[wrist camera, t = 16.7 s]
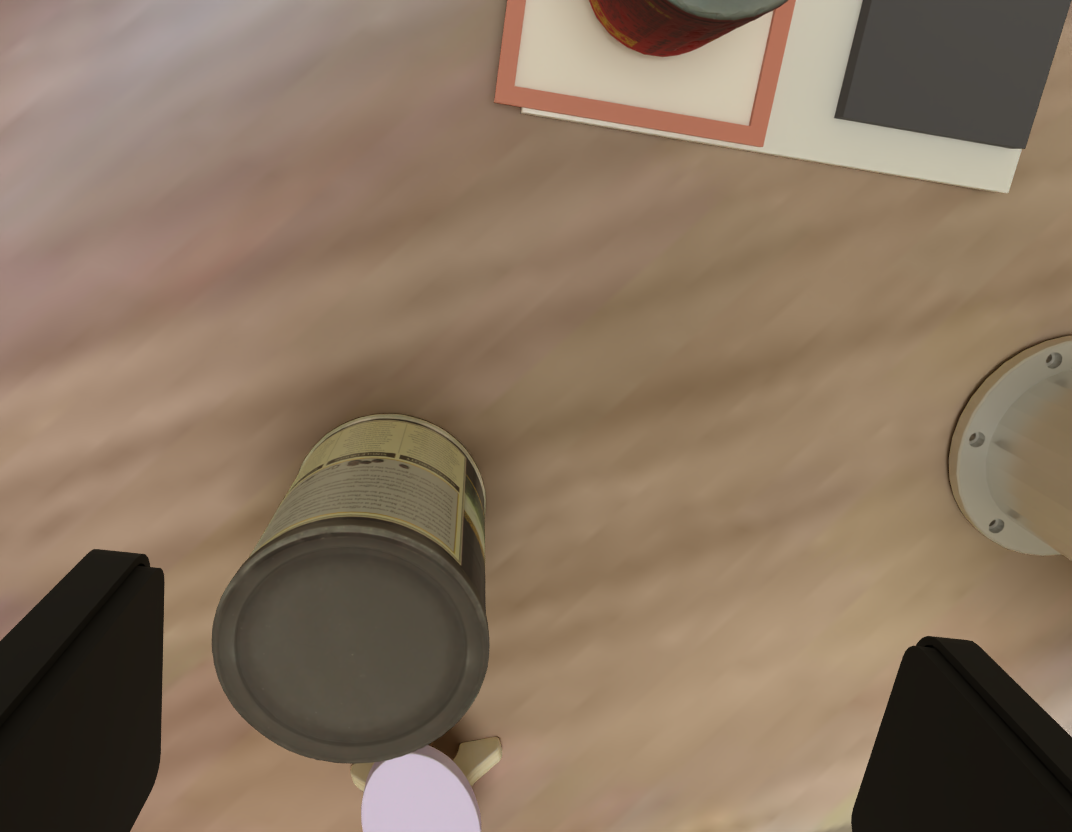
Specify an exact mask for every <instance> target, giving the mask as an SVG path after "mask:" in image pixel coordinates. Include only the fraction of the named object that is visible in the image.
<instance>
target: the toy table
mask: <svg viewBox="0 0 1072 832" xmlns="http://www.w3.org/2000/svg"><path fill="white" fill-rule="evenodd" d="M501 757H502V748H501V743H500V740H499V738H497V737H490V738H485V739H480V740H475V741H470V742H464V743H461V744H460V745H459V750H458V753H457V755H456V757H455V758H454V759H453V760H451V759H450V758H449V757H448V756H447V755H445V754H444V753H442V752H441V751H439V750H437V749H435V748H433V747H431V746H429V745H426V746H425V747H423V748H421V749H418V750H417V751H415V752H412V753H409V754H407V755H404V756H402V757H398V758H394V759H391V760H386V761H381V762H373V763H356V764H353V765H352V767H351V771H350V772H351V776H352V779H353V782H354V784H355V785H356V786H357V787H358V788H359V789H360V790H362V791H363V792H364V794H363V799H362V807H361V817H362V828H363V832H481V816H480V810H479V806H478V803H477V800H476V797H475V794H474V791H473V789H472V787H471V786H472V785H473V784H474V783H475V782H476V781H477V780H478V779H479V778H481V777H482V776H483V775H484V774H485V773H486V772H488V771H489V770H490V769H491V768H492V767H493V766H494V765H496V764H497V763H498V762H499V761H500V759H501Z"/></svg>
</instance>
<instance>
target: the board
mask: <svg viewBox="0 0 1072 832" xmlns="http://www.w3.org/2000/svg"><path fill="white" fill-rule="evenodd" d="M862 2H863V0H796V2H795V6H794V11H793V15H792V20H791V24H790V29H789V33H788V38H787V42H786V47H785V51H784V56H783V60H782V65H781V69H780V74H779V78H778V83H777V87H776V92H775V96H774V100H773V105H772V109H771V114H770V118H769V123H768V127H767V132H766V136H765V141H764V145H763V147H756V146H750V145H744V144H738V143H732V142H726V141H720V140H714V139H708V138H702V137H696V136H690V135H684V134H678V133H672V132H666V131H660V130H654V129H648V128H642V127H636V126H631V125H625V124H619V123H613V122H607V121H601V120H595V119H589V118H583V117H577V116H571V115H565V114H559V113H553V112H547V111H541V110H535V109H529V108H523V107H521V114H527V115H533V116H539V117H545V118H551V119H557V120H563V121H569V122H575V123H581V124H587V125H593V126H599V127H605V128H611V129H617V130H623V131H629V132H635V133H641V134H647V135H653V136H659V137H665V138H671V139H677V140H683V141H689V142H695V143H701V144H707V145H713V146H719V147H725V148H731V149H737V150H743V151H749V152H755V153H761V154H767V155H773V156H779V157H785V158H791V159H797V160H803V161H809V162H815V163H821V164H827V165H833V166H839V167H845V168H851V169H857V170H863V171H869V172H875V173H881V174H887V175H893V176H899V177H905V178H911V179H917V180H923V181H929V182H935V183H941V184H947V185H953V186H959V187H965V188H971V189H977V190H983V191H989V192H998V193H1008V192H1009V189H1010V186H1011V183H1012V180H1013V176H1014V173H1015V170H1016V167H1017V163H1018V160H1019V157H1020V154H1021V151H1022V149H1010V148H1004V147H998V146H992V145H987V144H981V143H975V142H969V141H963V140H958V139H952V138H946V137H940V136H935V135H929V134H923V133H917V132H911V131H906V130H900V129H894V128H888V127H883V126H877V125H871V124H865V123H859V122H854V121H848V120H842V119H836V118H834V116H835V112H836V108H837V104H838V100H839V96H840V91H841V87H842V83H843V79H844V75H845V71H846V67H847V63H848V59H849V55H850V51H851V47H852V42H853V38H854V34H855V30H856V26H857V22H858V18H859V14H860V10H861V6H862Z"/></svg>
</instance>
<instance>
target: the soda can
mask: <svg viewBox="0 0 1072 832" xmlns="http://www.w3.org/2000/svg"><path fill="white" fill-rule="evenodd" d="M787 1H788V0H589V2H590V4H591V7H592V9H593V11H594V14H595V16H596V18H597V19H598V20H599V22H600V23H601V24H602V25H603V27H604V28H605V29H606V30H607V32H608V33H609V34H610V35H611V36H612V37H614V38H615V39H616V40H617V41H619V42H620V43H622V44H623V45H625V46H626V47H628V48H630V49H632V50H635V51H637V52H639V53H642V54H644V55H651V56H659V57H668V56H676V55H681V54H684V53H687V52H691V51H693V50H695V49H698V48H700V47H702V46H704V45H706V44H707V43H710V42H712V41H714V40H716V39H718V38H720V37H721V36H723V35H725V34H727V33H729V32H731V31H733V30H735V29H737V28H739V27H741V26H743V25H745V24H747V23H749V22H751V21H754V20H756V19H758V18H760V17H761V16H763V15H765V14H767V13H769V12H771V11H773V10H775V9H777V8H779V7H781V6H782V5H783V4H784V3H786V2H787Z"/></svg>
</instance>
